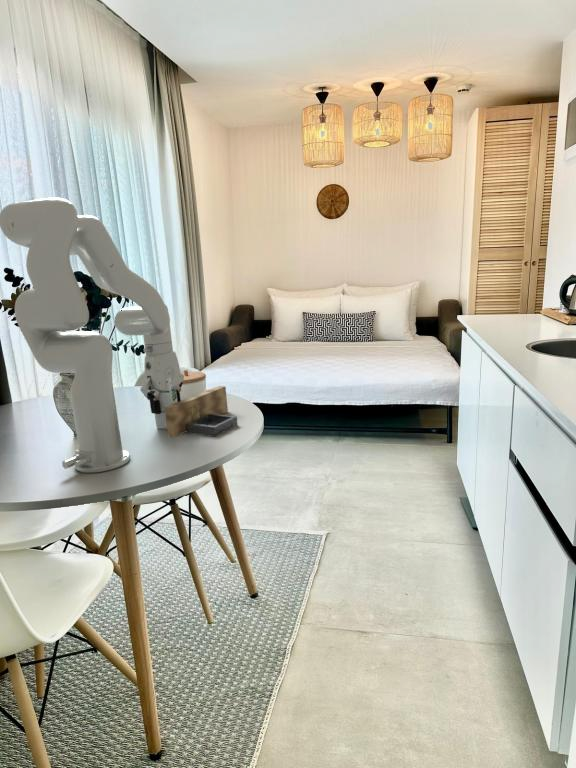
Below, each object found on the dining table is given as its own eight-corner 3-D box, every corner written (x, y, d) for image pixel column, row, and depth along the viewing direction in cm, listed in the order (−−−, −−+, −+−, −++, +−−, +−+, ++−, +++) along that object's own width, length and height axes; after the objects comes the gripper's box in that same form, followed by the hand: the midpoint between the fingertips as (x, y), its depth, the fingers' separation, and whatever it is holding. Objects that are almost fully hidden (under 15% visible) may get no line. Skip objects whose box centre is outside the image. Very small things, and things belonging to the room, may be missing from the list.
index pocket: (215, 436, 139) (214, 427, 138) (186, 432, 144) (185, 423, 143) (237, 425, 147) (236, 416, 147) (209, 421, 152) (208, 413, 152)
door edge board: (175, 436, 141) (172, 408, 139) (168, 435, 142) (164, 407, 140) (228, 411, 161) (226, 386, 159) (221, 410, 162) (219, 385, 160)
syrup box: (176, 428, 148) (170, 378, 145) (155, 429, 148) (149, 379, 145) (180, 421, 154) (175, 373, 150) (161, 423, 154) (154, 375, 151)
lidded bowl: (200, 407, 168) (196, 373, 165) (163, 407, 170) (159, 374, 168) (213, 397, 180) (210, 365, 177) (179, 397, 182) (175, 366, 180)
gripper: (146, 355, 137) (154, 419, 141) (189, 343, 151) (196, 402, 155) (125, 354, 141) (134, 416, 145) (170, 343, 155) (177, 400, 159)
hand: (166, 408), depth 150 cm, fingers closed on syrup box, 7 cm apart
